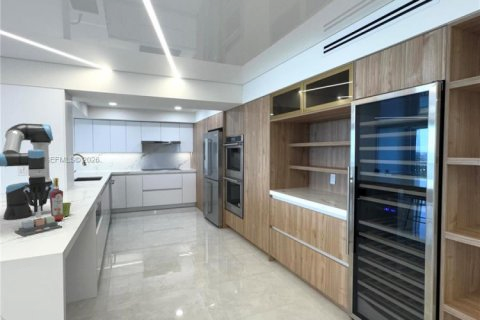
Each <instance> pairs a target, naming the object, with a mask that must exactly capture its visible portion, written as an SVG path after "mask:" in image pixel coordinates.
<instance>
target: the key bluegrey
mask: <svg viewBox="0 0 480 320" xmlns="http://www.w3.org/2000/svg"><path fill="white" fill-rule="evenodd" d="M21 227H22V228H24V229H26V228H31V227H34V221H33V220H25V221H21Z"/></svg>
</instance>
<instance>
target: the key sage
mask: <svg viewBox="0 0 480 320" xmlns="http://www.w3.org/2000/svg"><path fill="white" fill-rule="evenodd" d="M43 219H44V222H45V223H46V224H49V223H53V222H55V217H53V216H51V215H50V216H45V217H43Z"/></svg>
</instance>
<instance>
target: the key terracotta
mask: <svg viewBox="0 0 480 320" xmlns="http://www.w3.org/2000/svg"><path fill="white" fill-rule="evenodd" d="M32 221H34V226H40V225H44V224H45V222H44V217H40V218H34V219H33V220H32Z"/></svg>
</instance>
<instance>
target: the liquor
mask: <svg viewBox="0 0 480 320" xmlns="http://www.w3.org/2000/svg"><path fill="white" fill-rule="evenodd" d="M52 182H54V188H53V191H51V192H49V195H50V199H49V204H50V214H51V215H50V216H53V217H55V222H61V221H62V220H63V219H64V217H63V203H64V191H63V190H61V189H60V186H59V177H54V178H52Z"/></svg>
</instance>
